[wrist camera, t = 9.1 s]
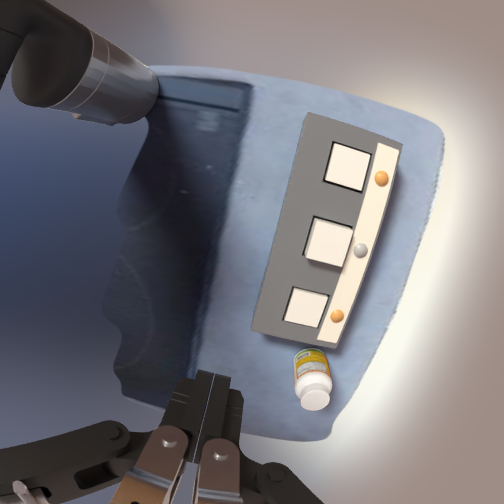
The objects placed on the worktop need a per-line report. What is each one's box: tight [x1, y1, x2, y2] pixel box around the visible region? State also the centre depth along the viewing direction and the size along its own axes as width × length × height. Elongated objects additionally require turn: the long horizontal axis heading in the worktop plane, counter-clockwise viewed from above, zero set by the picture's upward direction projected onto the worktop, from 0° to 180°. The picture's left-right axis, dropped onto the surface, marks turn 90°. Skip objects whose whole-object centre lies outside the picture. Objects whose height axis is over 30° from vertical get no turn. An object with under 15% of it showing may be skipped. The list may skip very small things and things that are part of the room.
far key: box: [284, 286, 328, 328], centre depth 38 cm, size 4×4×3 cm
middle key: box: [304, 217, 353, 267], centre depth 35 cm, size 4×4×3 cm
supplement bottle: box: [293, 348, 332, 411], centre depth 41 cm, size 5×5×10 cm
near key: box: [323, 144, 370, 191], centre depth 33 cm, size 4×4×3 cm
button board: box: [251, 112, 403, 349], centre depth 37 cm, size 28×12×5 cm, turn 166°
